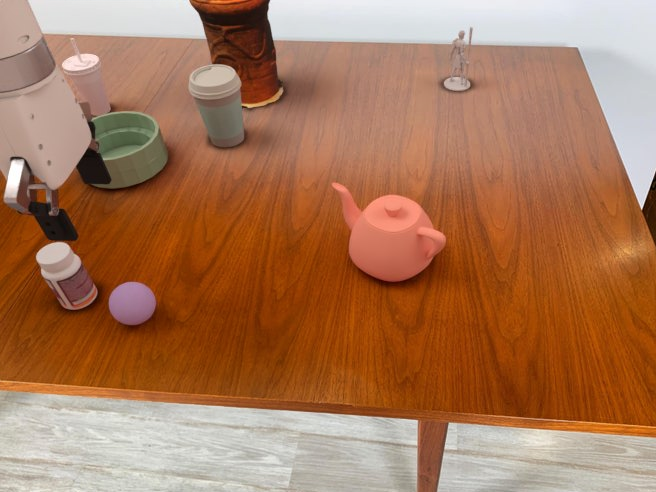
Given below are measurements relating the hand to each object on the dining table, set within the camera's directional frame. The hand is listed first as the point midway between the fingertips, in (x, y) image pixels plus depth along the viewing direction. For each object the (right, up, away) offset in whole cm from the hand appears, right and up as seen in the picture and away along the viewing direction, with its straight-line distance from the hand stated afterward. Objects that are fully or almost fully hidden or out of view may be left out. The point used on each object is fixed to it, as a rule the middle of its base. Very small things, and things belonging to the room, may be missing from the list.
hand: (82, 209), depth 65 cm
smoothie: (-20, +25, +45) cm, 56 cm away
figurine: (+48, +32, +51) cm, 77 cm away
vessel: (+7, +30, +50) cm, 59 cm away
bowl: (-10, +12, +33) cm, 37 cm away
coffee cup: (+6, +18, +39) cm, 43 cm away
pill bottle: (-7, -10, +13) cm, 18 cm away
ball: (+2, -11, +9) cm, 14 cm away
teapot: (+34, -4, +19) cm, 39 cm away
